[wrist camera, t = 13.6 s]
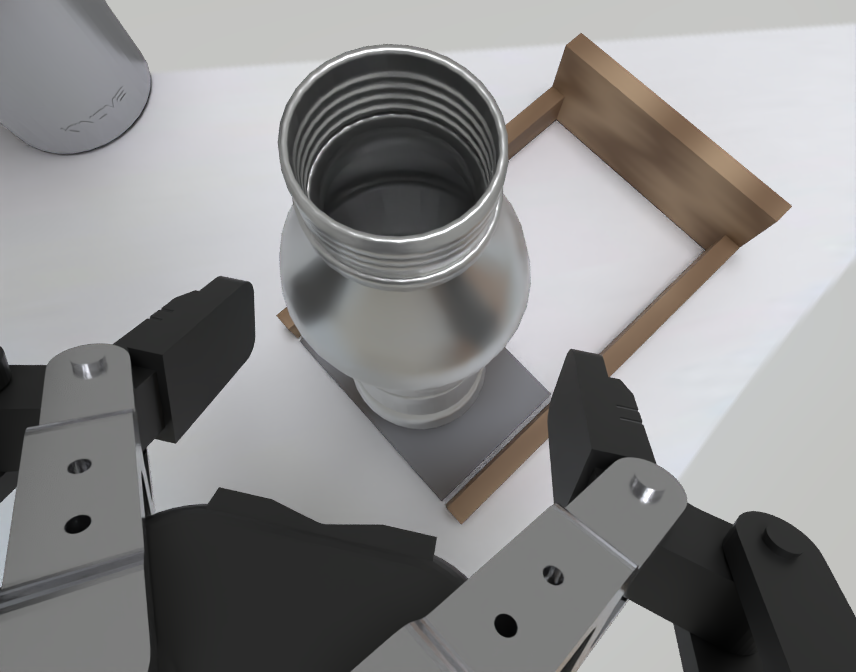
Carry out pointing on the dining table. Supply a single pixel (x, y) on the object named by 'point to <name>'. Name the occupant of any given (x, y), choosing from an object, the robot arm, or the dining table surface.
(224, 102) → the dining table surface
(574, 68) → the wooden tray frame
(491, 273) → the plastic bottle
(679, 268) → the dining table surface
